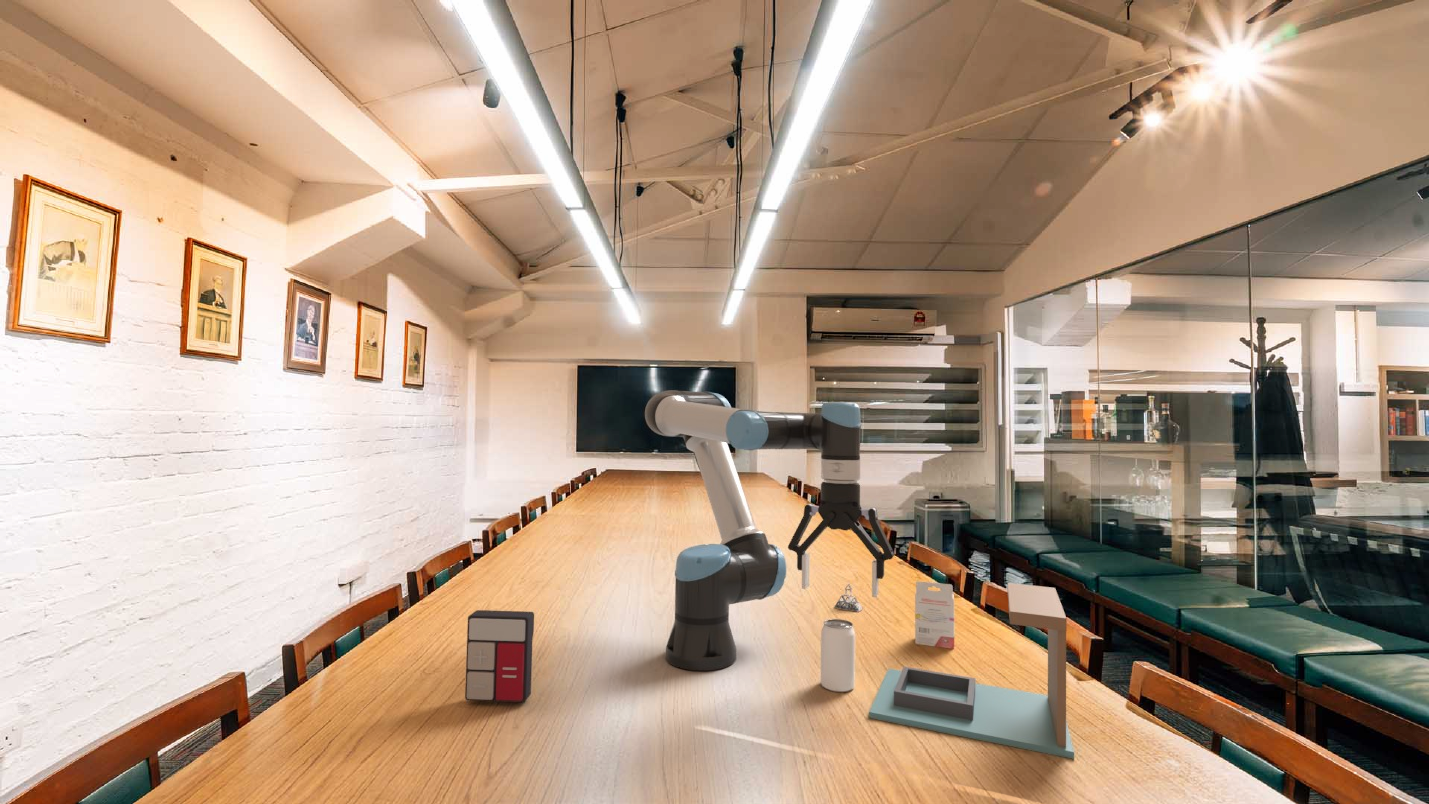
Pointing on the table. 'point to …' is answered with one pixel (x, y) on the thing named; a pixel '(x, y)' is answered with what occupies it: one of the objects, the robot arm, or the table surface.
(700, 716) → the table surface
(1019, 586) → the socket stand
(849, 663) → the can
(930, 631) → the ink cartridge box
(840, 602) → the house of cards
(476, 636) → the calculator
